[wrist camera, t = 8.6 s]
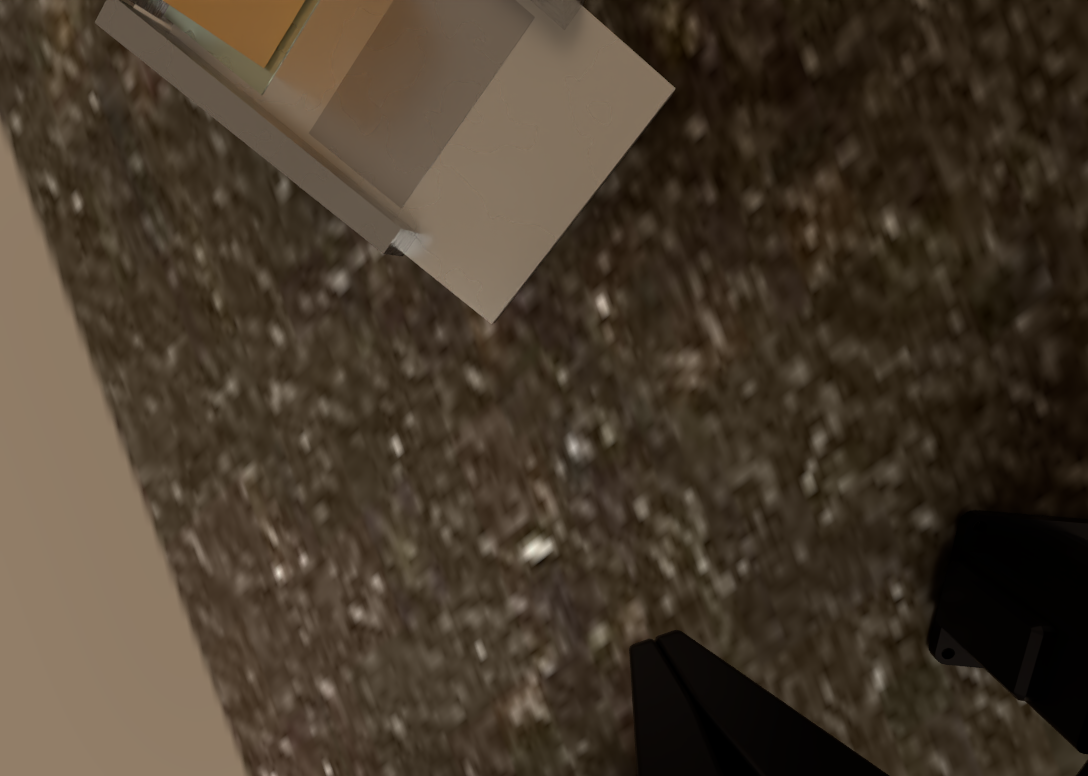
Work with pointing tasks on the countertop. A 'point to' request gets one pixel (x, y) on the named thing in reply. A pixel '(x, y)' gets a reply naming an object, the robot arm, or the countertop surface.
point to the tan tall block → (243, 22)
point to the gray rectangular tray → (425, 120)
